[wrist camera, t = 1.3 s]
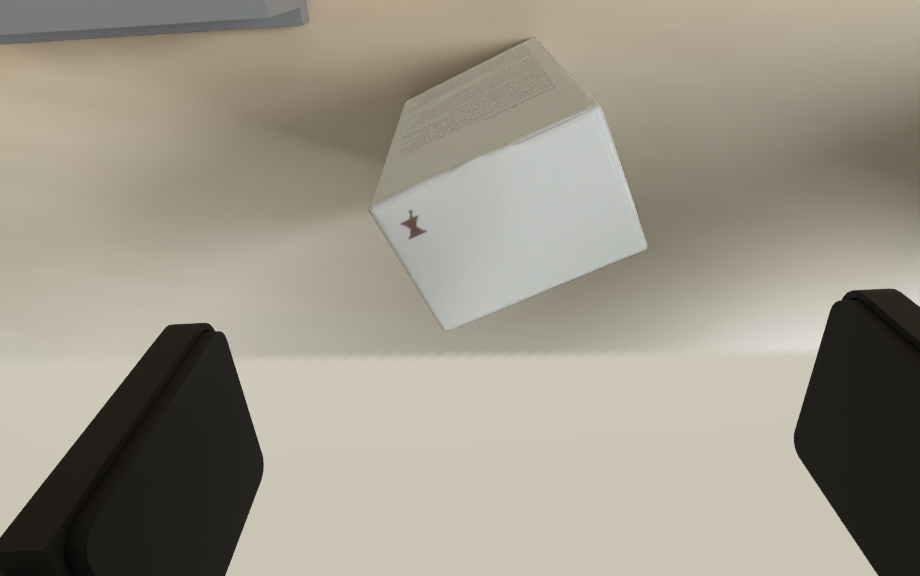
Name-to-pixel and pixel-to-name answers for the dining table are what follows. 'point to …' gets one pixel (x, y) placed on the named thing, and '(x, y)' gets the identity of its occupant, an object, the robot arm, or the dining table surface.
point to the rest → (138, 17)
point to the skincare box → (503, 187)
